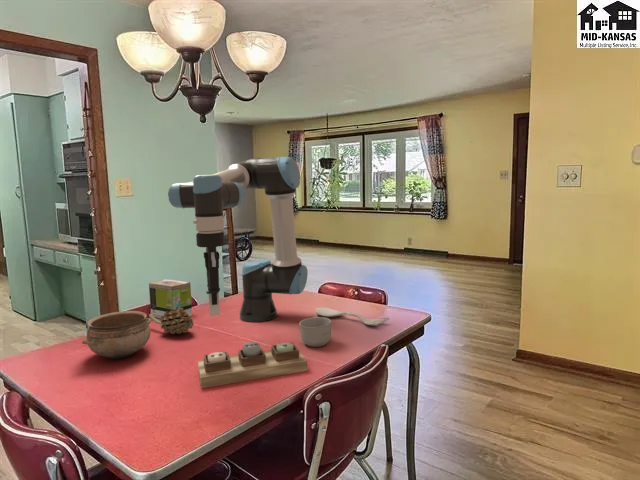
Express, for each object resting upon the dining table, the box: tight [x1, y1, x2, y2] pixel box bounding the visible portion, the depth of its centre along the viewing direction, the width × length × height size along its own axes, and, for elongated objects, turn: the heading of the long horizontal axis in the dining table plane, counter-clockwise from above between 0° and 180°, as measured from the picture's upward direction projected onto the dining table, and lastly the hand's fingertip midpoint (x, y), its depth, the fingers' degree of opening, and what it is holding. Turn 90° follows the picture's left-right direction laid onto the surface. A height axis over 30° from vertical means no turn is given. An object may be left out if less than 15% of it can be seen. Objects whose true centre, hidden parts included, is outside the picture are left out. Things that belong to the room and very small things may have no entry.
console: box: [197, 342, 308, 389], centre depth 128 cm, size 12×30×6 cm, turn 109°
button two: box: [207, 351, 226, 363], centre depth 125 cm, size 5×5×3 cm
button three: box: [242, 341, 261, 358], centre depth 128 cm, size 5×5×3 cm
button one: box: [276, 342, 293, 353], centre depth 131 cm, size 5×5×3 cm
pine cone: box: [148, 308, 195, 335], centre depth 163 cm, size 22×10×10 cm, turn 67°
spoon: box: [314, 307, 390, 326], centre depth 174 cm, size 9×32×3 cm, turn 51°
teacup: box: [298, 315, 332, 348], centre depth 150 cm, size 14×11×8 cm
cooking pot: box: [81, 310, 152, 360], centre depth 142 cm, size 25×19×12 cm
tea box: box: [148, 278, 193, 319], centre depth 184 cm, size 15×10×15 cm, turn 58°
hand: (214, 314), depth 123 cm, fingers closed
